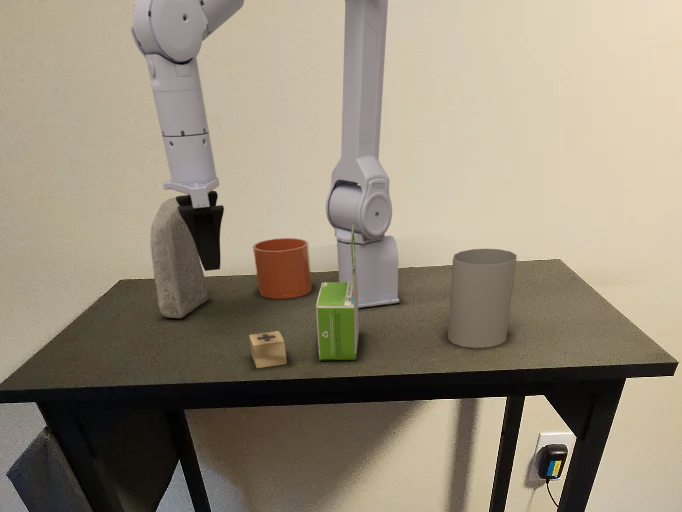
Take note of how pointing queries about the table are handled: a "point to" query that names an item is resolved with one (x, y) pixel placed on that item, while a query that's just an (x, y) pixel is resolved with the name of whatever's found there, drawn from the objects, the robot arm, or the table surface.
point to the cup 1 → (282, 268)
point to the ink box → (338, 317)
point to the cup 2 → (481, 297)
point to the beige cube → (268, 349)
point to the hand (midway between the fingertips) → (210, 262)
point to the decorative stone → (175, 263)
